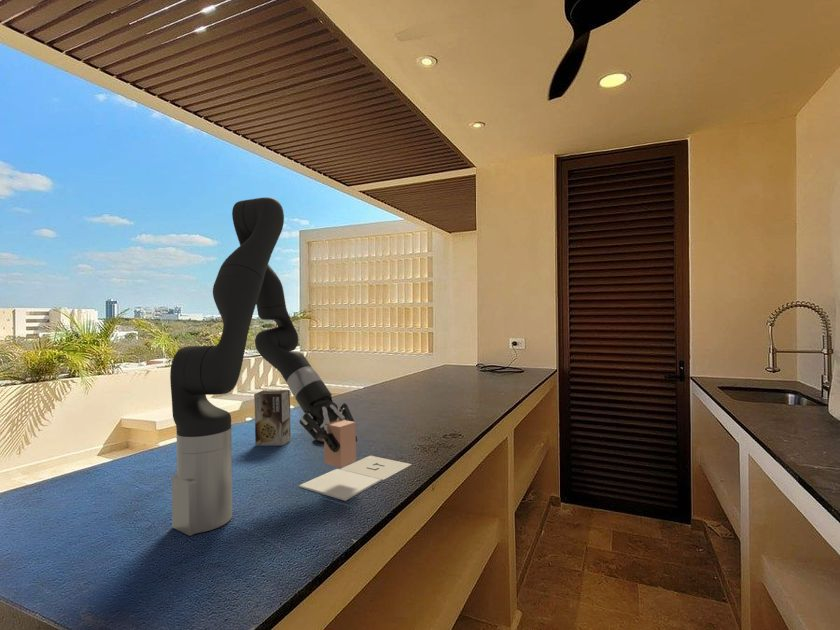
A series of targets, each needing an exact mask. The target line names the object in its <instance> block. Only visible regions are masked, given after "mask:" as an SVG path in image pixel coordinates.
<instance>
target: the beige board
mask: <svg viewBox="0 0 840 630" xmlns="http://www.w3.org/2000/svg"><path fill="white" fill-rule="evenodd" d="M380 482H382V479H378V478H374V477H370V476H366V475H361V474H357V473H353V472H349V471H345V470H341V468H335V469H333V470H331V471H329V472H327V473H324V474H322V475H320V476H317V477H315V478H312V479H311V480H308V481H306V482H303V483H301V484H299V486H298V487H299V488H300V489H304V490H308V491H311V492H315V493H318V494H321V495H325V496H328V497H331V498H335V499H338V500H342V501H348V500H349V499H352V498H354V497H355V496H356V495H358V494H360V493H362V492H364V491H366V490H368V489H369V488H371V487H373V486H375V485H377V484H379V483H380Z"/></svg>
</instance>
